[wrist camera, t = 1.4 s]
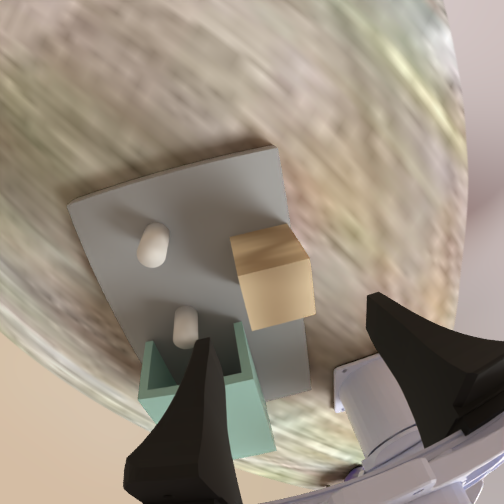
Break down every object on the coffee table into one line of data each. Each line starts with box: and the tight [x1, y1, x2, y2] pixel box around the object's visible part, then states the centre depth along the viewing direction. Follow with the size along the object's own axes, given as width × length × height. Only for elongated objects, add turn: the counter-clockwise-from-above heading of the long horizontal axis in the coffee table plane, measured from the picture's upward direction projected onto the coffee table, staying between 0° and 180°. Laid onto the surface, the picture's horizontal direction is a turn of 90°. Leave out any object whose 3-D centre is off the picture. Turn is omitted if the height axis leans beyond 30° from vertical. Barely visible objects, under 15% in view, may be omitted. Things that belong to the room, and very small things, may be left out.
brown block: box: [230, 224, 316, 331], centre depth 18 cm, size 4×4×5 cm
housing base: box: [67, 145, 312, 402], centre depth 22 cm, size 13×22×4 cm, turn 11°
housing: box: [138, 321, 277, 459], centre depth 22 cm, size 7×10×5 cm
